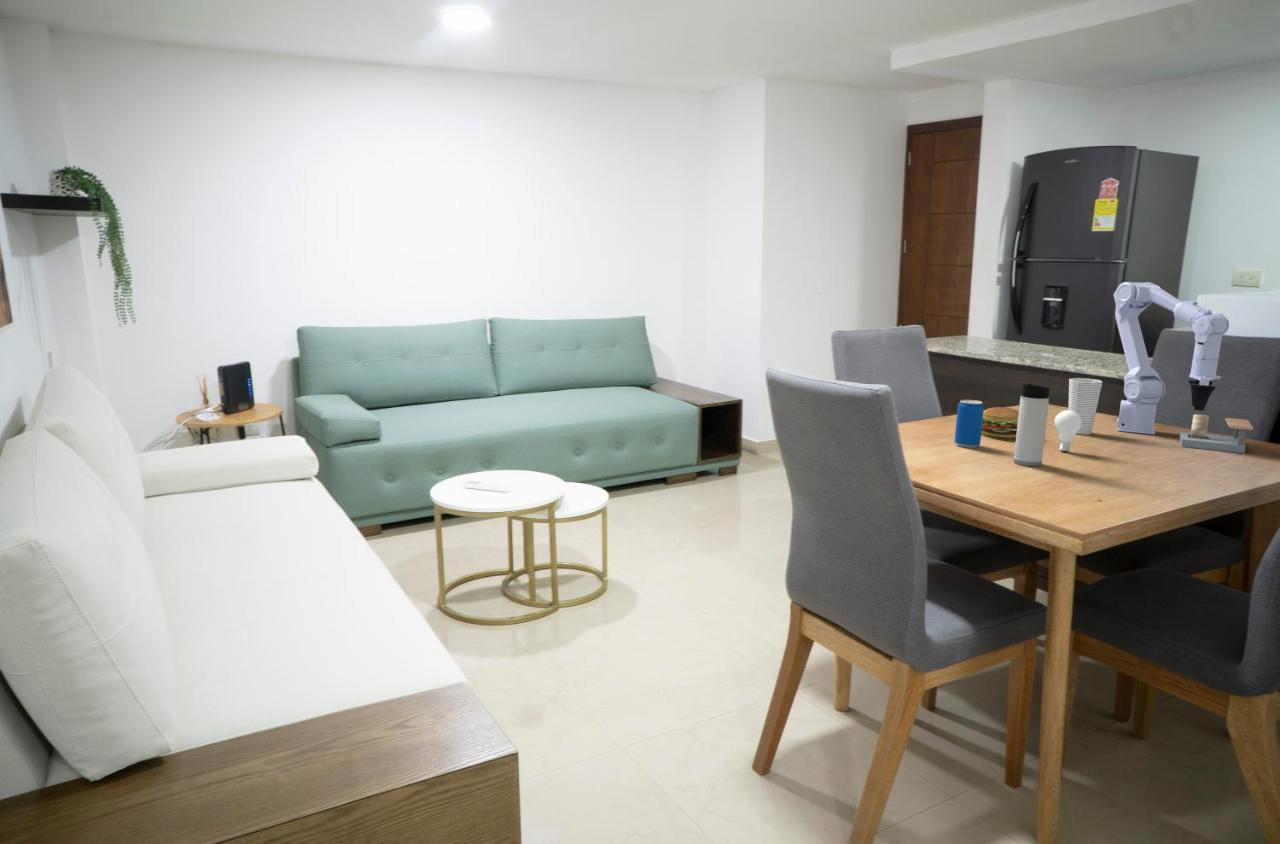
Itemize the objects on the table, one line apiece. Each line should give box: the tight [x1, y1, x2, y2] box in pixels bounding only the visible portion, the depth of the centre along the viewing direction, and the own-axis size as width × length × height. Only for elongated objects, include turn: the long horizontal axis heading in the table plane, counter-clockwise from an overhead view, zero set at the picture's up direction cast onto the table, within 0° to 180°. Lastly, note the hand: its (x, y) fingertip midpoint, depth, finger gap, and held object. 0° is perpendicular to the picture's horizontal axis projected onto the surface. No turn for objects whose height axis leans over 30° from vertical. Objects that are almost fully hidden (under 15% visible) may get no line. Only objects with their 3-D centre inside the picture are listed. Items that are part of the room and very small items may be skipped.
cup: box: [1067, 377, 1103, 436], centre depth 241 cm, size 8×8×16 cm
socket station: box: [1178, 417, 1254, 454], centre depth 227 cm, size 15×13×7 cm
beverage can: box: [954, 399, 985, 449], centre depth 222 cm, size 6×6×12 cm
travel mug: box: [1013, 382, 1051, 467], centre depth 202 cm, size 6×7×20 cm
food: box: [981, 406, 1019, 440], centre depth 236 cm, size 14×14×8 cm
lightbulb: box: [1053, 409, 1082, 453], centre depth 217 cm, size 6×6×11 cm
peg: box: [1190, 414, 1210, 439], centre depth 229 cm, size 4×4×8 cm
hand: (1197, 408), depth 228 cm, fingers open, 7 cm apart
